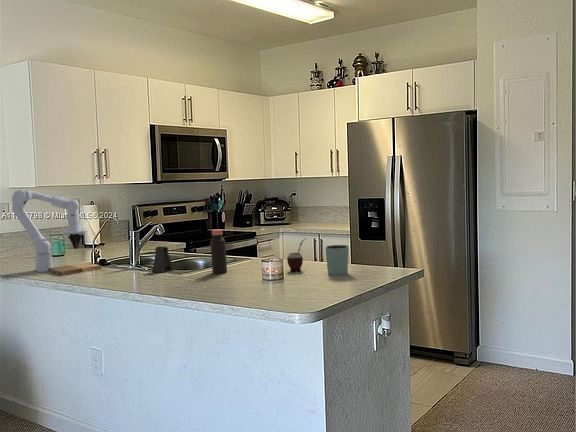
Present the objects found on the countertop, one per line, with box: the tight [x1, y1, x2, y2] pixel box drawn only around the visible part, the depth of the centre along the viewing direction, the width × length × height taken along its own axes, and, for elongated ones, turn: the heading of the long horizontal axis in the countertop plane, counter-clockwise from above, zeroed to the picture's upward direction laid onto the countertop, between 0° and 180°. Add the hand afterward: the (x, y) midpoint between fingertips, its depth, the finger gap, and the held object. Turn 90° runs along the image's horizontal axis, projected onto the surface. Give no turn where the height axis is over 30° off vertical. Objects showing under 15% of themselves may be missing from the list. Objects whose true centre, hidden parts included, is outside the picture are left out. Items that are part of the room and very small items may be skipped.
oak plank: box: [67, 262, 102, 273], centre depth 296 cm, size 18×10×2 cm, turn 43°
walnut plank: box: [47, 264, 83, 277], centre depth 289 cm, size 18×10×2 cm, turn 43°
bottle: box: [210, 228, 228, 275], centre depth 265 cm, size 7×7×20 cm
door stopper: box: [151, 245, 175, 274], centre depth 278 cm, size 9×6×12 cm, turn 139°
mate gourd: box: [287, 237, 307, 273], centre depth 258 cm, size 8×8×15 cm
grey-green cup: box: [325, 244, 350, 277], centre depth 246 cm, size 10×10×12 cm
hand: (76, 248), depth 301 cm, fingers closed
